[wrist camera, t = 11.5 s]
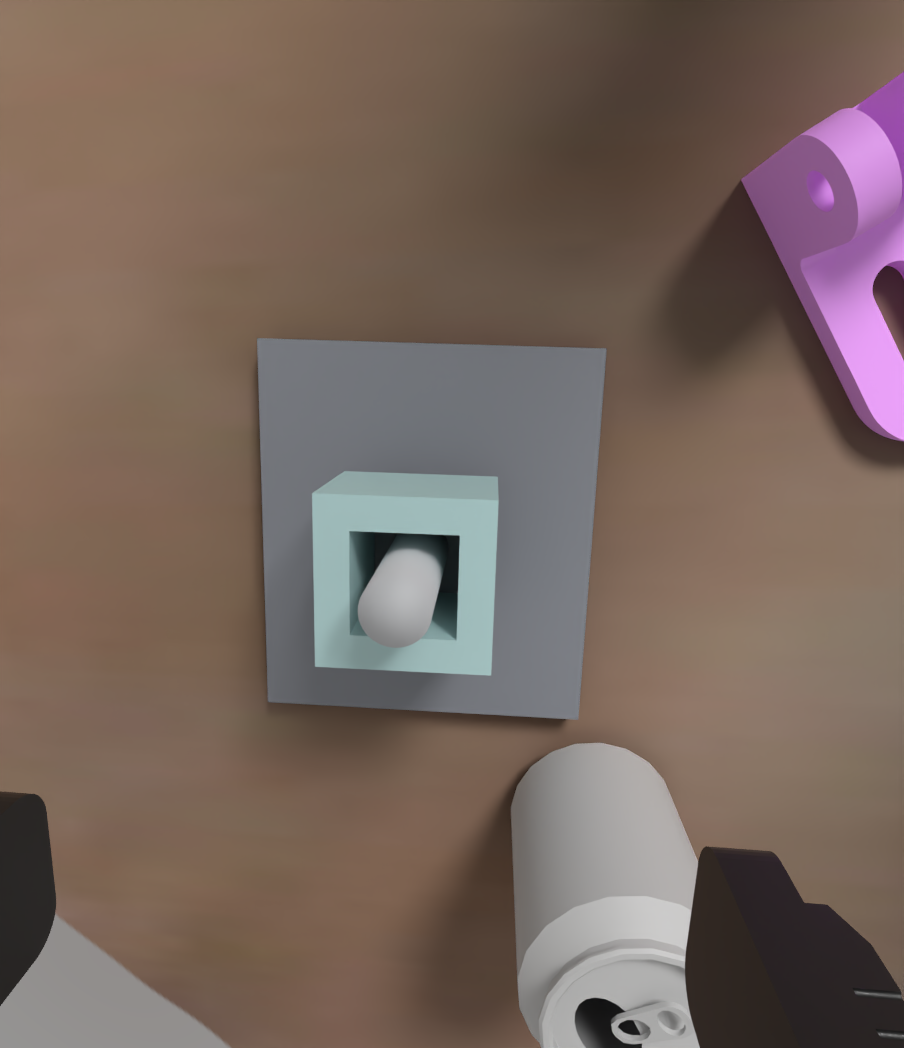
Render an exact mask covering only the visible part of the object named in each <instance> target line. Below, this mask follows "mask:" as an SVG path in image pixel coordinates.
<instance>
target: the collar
mask: <svg viewBox="0 0 904 1048" xmlns="http://www.w3.org/2000/svg"><path fill="white" fill-rule="evenodd" d="M498 504H499V496H498V477H495V476H467V475H439V474H411V473H383V472H355V471H344V472H343V473H341V474H340V475H338V476H337V477H335V478H334V479H332V480H331V481H329V482H328V483H326V484H325V485H323V486H322V487H321V488H319V489H318V490H316V491H315V492H313V493H312V521H313V579H314V637H315V667H330V668H350V669H370V670H390V671H409V672H429V673H449V674H469V675H488V676H491V669H492V645H493V622H494V598H495V574H496V551H497V527H498ZM375 532H385V533H410V534H434V535H459V536H460V545H459V578H458V593H444V592H438V595H437V599H436V603H435V607H434V611H433V615H432V619H431V623H430V626H429V628H428V630H427V632H426V633H425V635H424V636H423V637H422V638H421V639H420V640H418V641H417V642H415V643H414V644H412V645H409V646H406V647H400V648H392V647H387V646H383V645H381V644H379V643H377V642H375V641H374V640H372V639H371V638H370V637H369V636H368V635H367V634H366V633H365V632H364V630H363V629H362V627H361V625H360V622H359V618H358V604H359V600H360V597H361V595H362V594H363V592H364V590H365V588H366V587H367V585H368V583H369V582H370V580H371V578H372V577H373V575H374V573H375Z"/></svg>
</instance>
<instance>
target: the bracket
mask: <svg viewBox="0 0 904 1048" xmlns="http://www.w3.org/2000/svg"><path fill="white" fill-rule="evenodd" d="M741 181H742V183H743V185H744V187H745V189H746V191H747V193H748V195H749V197H750V199H751V201H752V203H753V205H754V207H755V209H756V211H757V213H758V215H759V217H760V219H761V221H762V223H763V225H764V228H765V230H766V232H767V234H768V236H769V238H770V240H771V242H772V244H773V246H774V248H775V250H776V252H777V254H778V256H779V258H780V260H781V262H782V264H783V266H784V268H785V270H786V272H787V274H788V276H789V278H790V280H791V282H792V284H793V286H794V288H795V290H796V292H797V295H798V297H799V299H800V301H801V303H802V305H803V307H804V309H805V311H806V313H807V315H808V317H809V319H810V321H811V323H812V325H813V327H814V329H815V331H816V333H817V335H818V337H819V339H820V341H821V343H822V345H823V347H824V349H825V351H826V353H827V355H828V357H829V360H830V362H831V364H832V366H833V368H834V370H835V372H836V374H837V376H838V378H839V380H840V382H841V384H842V386H843V388H844V390H845V392H846V394H847V396H848V398H849V400H850V402H851V404H852V406H853V408H854V410H855V412H856V414H857V415H858V416H859V418H860V419H861V420H862V421H863V422H864V424H865V425H866V426H868V427H869V428H870V429H871V430H873V431H874V432H876V433H878V434H880V435H882V436H884V437H887V438H890V439H893V440H898V441H903V442H904V361H903V359H902V356H901V354H900V352H899V350H898V348H897V346H896V344H895V342H894V340H893V337H892V335H891V333H890V331H889V329H888V327H887V325H886V323H885V321H884V318H883V316H882V314H881V312H880V310H879V308H878V306H877V304H876V302H875V299H874V297H873V290H872V289H873V283H874V280H875V277H876V276H877V274H878V273H879V271H880V270H881V269H882V268H883V267H885V266H886V265H887V266H891V267H893V268H895V269H897V270H898V271H899V272H900V274H901V275H902V277H903V279H904V72H903V73H901V74H900V75H898V76H897V77H896V78H894V79H893V80H892V81H890V82H889V83H887V84H886V85H885V86H883V87H882V88H881V89H879V90H878V91H876V92H875V93H874V94H872V95H871V96H870V97H868V98H867V99H865V100H864V101H863V102H861V103H860V104H858V105H857V106H855V107H854V108H845V109H841V110H839V111H837V112H836V113H834V114H832V115H831V116H829V117H828V118H826V119H824V120H823V121H821V122H820V123H818V124H816V125H815V126H813V127H812V128H810V129H808V130H807V131H805V132H804V133H802V134H800V135H799V136H797V137H796V138H794V139H793V140H792V141H790V142H789V143H788V144H786V145H785V146H784V147H782V148H781V149H780V150H779V151H777V152H776V153H775V154H773V155H772V156H771V157H770V158H768V159H767V160H766V161H764V162H763V163H762V164H760V165H759V166H758V167H757V168H755V169H754V170H753V171H751V172H750V173H749V174H747V175H746V176H745V177H744V178H742V179H741Z"/></svg>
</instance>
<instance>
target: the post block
mask: <svg viewBox="0 0 904 1048" xmlns="http://www.w3.org/2000/svg"><path fill="white" fill-rule="evenodd" d="M606 350H607V349H605V348H571V347H537V346H503V345H469V344H435V343H401V342H367V341H333V340H299V339H265V338H257V351H258V384H259V418H260V451H261V485H262V518H263V551H264V585H265V618H266V652H267V685H268V702H275V703H293V704H311V705H328V706H346V707H364V708H381V709H399V710H417V711H434V712H452V713H470V714H487V715H505V716H523V717H541V718H558V719H576V720H578V715H579V702H580V689H581V676H582V663H583V650H584V637H585V624H586V611H587V598H588V585H589V572H590V559H591V546H592V533H593V520H594V507H595V494H596V480H597V467H598V454H599V441H600V428H601V415H602V402H603V389H604V376H605V363H606ZM344 471H355V472H383V473H411V474H439V475H467V476H495V477H498V496H499V504H498V527H497V551H496V574H495V598H494V622H493V645H492V669H491V676H488V675H469V674H449V673H429V672H409V671H390V670H370V669H350V668H330V667H315V637H314V579H313V521H312V493H313V492H315V491H316V490H318V489H319V488H321V487H322V486H323V485H325V484H326V483H328V482H329V481H331V480H332V479H334V478H335V477H337V476H338V475H340V474H341V473H343V472H344ZM459 545H460V536H459V535H434V534H410V533H385V532H375V573H374V575H373V577H372V578H371V580H370V582H369V583H368V585H367V587H366V588H365V590H364V592H363V594H362V595H361V597H360V600H359V604H358V618H359V622H360V625H361V627H362V629H363V630H364V632H365V633H366V634H367V635H368V636H369V637H370V638H371V639H372V640H374V641H375V642H377V643H379V644H381V645H383V646H387V647H392V648H400V647H406V646H409V645H412V644H414V643H415V642H417V641H418V640H420V639H421V638H422V637H423V636H424V635H425V633H426V632H427V630H428V628H429V626H430V623H431V619H432V615H433V611H434V607H435V603H436V599H437V595H438V592H444V593H458V578H459Z"/></svg>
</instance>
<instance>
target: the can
mask: <svg viewBox="0 0 904 1048" xmlns="http://www.w3.org/2000/svg"><path fill="white" fill-rule="evenodd" d="M511 825H512V851H513V877H514V903H515V929H516V956H517V981H518V995H519V1008H520V1010H521V1013H522V1015H523V1017H524V1019H525V1021H526V1023H527V1025H528V1028H529V1030H530V1032H531V1034H532V1036H533V1037H534V1038H535V1039H536V1040H537V1041H538V1042H539V1043H540V1046H541V1048H700V1047H699V1043H698V1040H697V1037H696V1033H695V1030H694V1026H693V1023H692V1019H691V1015H690V1011H689V1006H688V1000H687V992H686V982H685V955H686V946H687V939H688V932H689V925H690V918H691V911H692V903H693V896H694V889H695V882H696V875H697V868H698V861H697V858H696V856H695V853H694V851H693V849H692V846H691V844H690V841H689V839H688V837H687V834H686V832H685V829H684V827H683V824H682V822H681V820H680V817H679V815H678V812H677V810H676V808H675V805H674V803H673V800H672V798H671V795H670V793H669V791H668V788H667V786H666V783H665V781H664V779H663V778H662V777H661V776H660V775H659V774H658V772H657V771H656V770H655V769H654V768H653V767H652V766H651V764H650V763H649V762H648V761H646V760H644V759H643V758H641V757H639V756H638V755H636V754H634V753H633V752H631V751H629V750H628V749H625V748H621V747H617V746H613V745H609V744H605V743H583V744H573V745H570V746H567V747H564V748H562V749H559V750H556V751H553V752H550V753H549V754H548V755H546V756H545V757H543V758H542V759H541V760H539V761H538V762H536V763H535V764H534V765H532V766H531V767H530V769H529V770H528V771H527V773H526V774H525V775H524V777H523V778H522V780H521V781H520V782H519V784H518V785H517V788H516V791H515V795H514V798H513V801H512V805H511Z"/></svg>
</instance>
